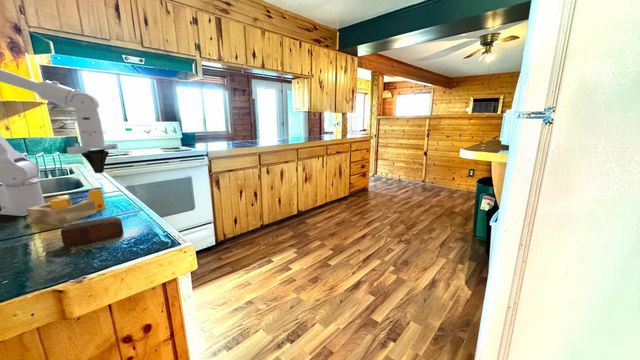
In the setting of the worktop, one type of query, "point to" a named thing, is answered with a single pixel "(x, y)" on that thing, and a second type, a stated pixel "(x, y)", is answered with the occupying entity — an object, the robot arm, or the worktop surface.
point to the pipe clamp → (93, 195)
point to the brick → (91, 232)
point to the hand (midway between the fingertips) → (99, 172)
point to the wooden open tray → (61, 213)
